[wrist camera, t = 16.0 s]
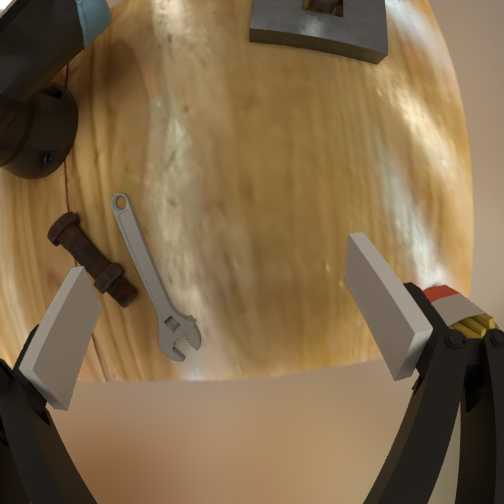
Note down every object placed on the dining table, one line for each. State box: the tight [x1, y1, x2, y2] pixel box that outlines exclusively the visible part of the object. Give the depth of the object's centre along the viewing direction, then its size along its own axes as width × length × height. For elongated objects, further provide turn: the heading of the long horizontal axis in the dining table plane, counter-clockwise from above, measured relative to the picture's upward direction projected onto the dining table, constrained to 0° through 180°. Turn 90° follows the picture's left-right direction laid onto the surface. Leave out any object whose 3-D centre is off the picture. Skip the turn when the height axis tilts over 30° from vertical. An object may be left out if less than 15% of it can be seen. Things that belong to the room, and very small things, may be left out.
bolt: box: [47, 212, 137, 308], centre depth 38 cm, size 6×5×15 cm
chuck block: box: [250, 0, 388, 64], centre depth 31 cm, size 18×14×4 cm
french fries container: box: [423, 285, 499, 338], centre depth 33 cm, size 5×11×18 cm, turn 124°
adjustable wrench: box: [111, 193, 201, 362], centre depth 40 cm, size 25×6×2 cm, turn 16°
